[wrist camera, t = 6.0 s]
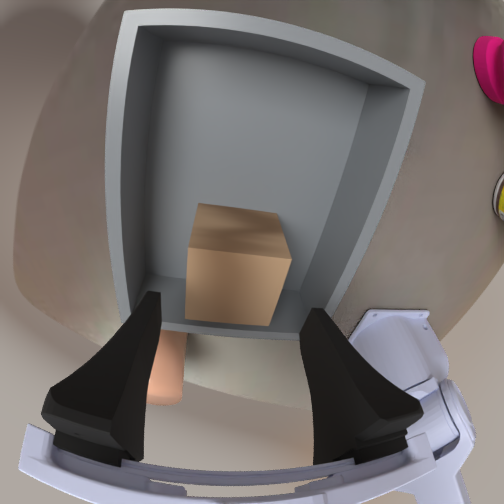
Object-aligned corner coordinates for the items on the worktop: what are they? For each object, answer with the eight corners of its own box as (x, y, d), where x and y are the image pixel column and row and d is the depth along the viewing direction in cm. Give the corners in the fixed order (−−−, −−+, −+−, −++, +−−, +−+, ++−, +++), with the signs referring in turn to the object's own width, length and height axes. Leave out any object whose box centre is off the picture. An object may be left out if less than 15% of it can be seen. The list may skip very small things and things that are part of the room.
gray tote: (377, 77, 13) (425, 81, 9) (303, 293, 22) (318, 340, 18) (154, 30, 11) (124, 10, 6) (138, 275, 20) (121, 322, 16)
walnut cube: (276, 213, 17) (292, 259, 13) (260, 273, 20) (268, 325, 16) (198, 202, 17) (188, 247, 12) (192, 266, 19) (184, 319, 15)
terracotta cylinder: (188, 313, 23) (181, 383, 17) (187, 346, 26) (182, 408, 20) (133, 305, 22) (115, 372, 16) (139, 339, 25) (126, 399, 19)
